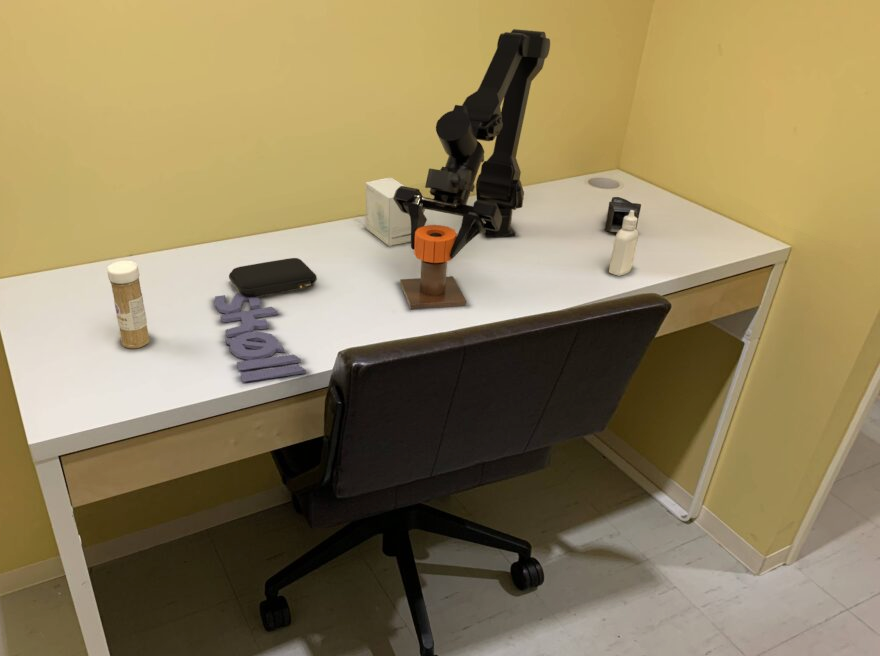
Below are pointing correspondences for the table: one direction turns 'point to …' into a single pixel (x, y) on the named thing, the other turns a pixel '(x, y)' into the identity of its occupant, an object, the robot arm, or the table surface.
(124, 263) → the sprinkles bottle
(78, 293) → the table surface
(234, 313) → the signage
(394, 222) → the cosmetics box
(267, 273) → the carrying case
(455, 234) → the ring
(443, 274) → the stand
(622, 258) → the eye dropper bottle
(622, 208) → the dark grey hollow box
